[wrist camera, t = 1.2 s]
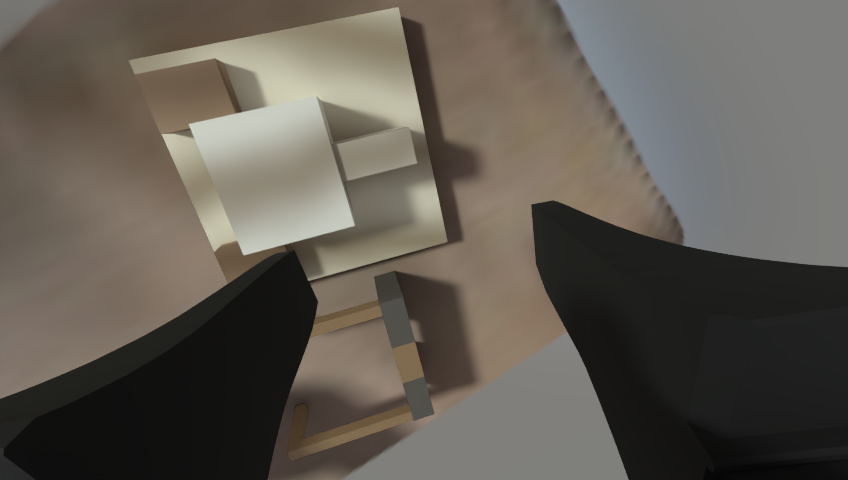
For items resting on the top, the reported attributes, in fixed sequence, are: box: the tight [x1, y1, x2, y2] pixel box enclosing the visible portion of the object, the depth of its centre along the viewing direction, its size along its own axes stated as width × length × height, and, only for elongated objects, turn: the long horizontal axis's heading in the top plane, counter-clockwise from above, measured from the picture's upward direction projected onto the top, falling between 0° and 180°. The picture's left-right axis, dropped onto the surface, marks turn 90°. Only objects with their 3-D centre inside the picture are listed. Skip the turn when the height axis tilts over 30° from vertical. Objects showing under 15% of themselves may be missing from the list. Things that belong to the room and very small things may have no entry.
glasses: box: [287, 271, 434, 461], centre depth 27 cm, size 10×11×4 cm
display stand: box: [129, 7, 447, 283], centre depth 22 cm, size 15×15×6 cm
